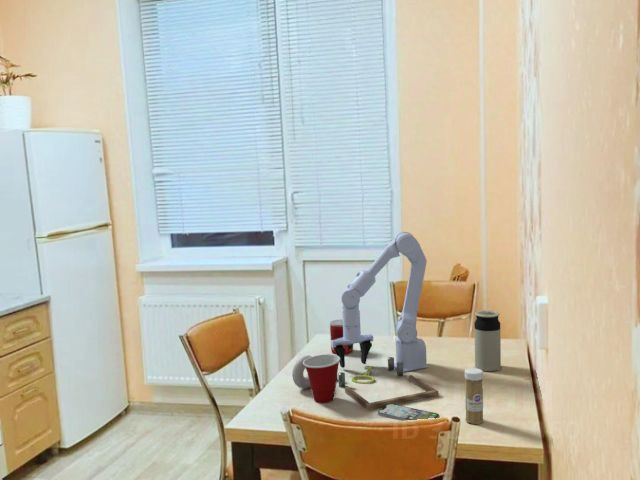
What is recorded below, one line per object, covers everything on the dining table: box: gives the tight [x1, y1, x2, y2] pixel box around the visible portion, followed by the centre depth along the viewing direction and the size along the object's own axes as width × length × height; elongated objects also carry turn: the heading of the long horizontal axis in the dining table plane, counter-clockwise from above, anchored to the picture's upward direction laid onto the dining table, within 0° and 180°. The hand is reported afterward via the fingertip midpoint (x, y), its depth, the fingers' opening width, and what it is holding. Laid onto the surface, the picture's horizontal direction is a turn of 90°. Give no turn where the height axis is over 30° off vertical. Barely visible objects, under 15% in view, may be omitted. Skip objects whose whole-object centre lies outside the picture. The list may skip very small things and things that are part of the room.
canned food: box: [329, 319, 354, 355], centre depth 219 cm, size 8×8×11 cm
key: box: [351, 365, 376, 385], centre depth 192 cm, size 7×12×2 cm, turn 178°
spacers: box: [337, 356, 404, 388], centre depth 191 cm, size 22×8×4 cm, turn 111°
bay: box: [344, 374, 439, 411], centre depth 177 cm, size 22×15×2 cm
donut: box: [291, 354, 313, 389], centre depth 185 cm, size 10×4×10 cm, turn 134°
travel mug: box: [473, 310, 502, 372], centre depth 195 cm, size 8×8×18 cm
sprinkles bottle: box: [464, 367, 484, 425], centre depth 155 cm, size 5×5×14 cm
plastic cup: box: [303, 353, 340, 404], centre depth 175 cm, size 11×11×12 cm
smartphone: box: [377, 404, 440, 421], centre depth 162 cm, size 7×1×15 cm
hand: (353, 365), depth 201 cm, fingers open, 7 cm apart
